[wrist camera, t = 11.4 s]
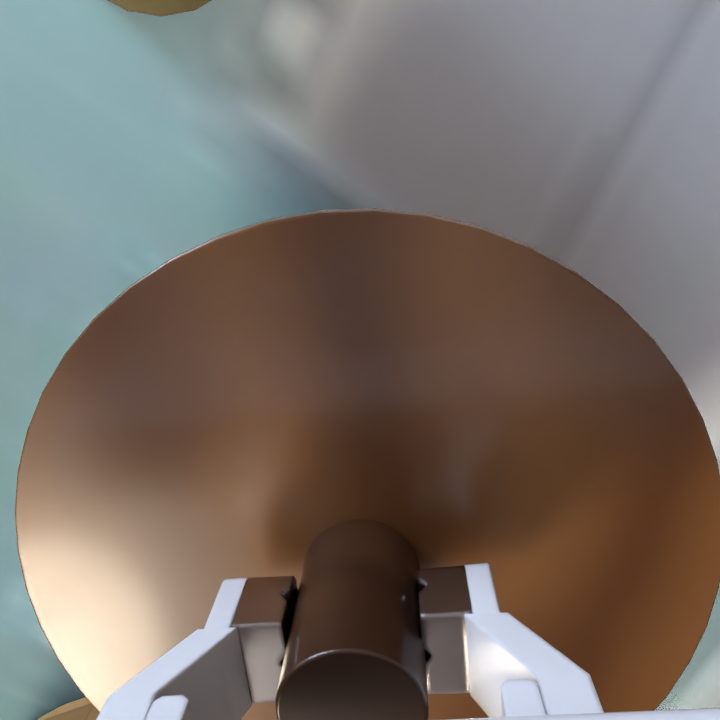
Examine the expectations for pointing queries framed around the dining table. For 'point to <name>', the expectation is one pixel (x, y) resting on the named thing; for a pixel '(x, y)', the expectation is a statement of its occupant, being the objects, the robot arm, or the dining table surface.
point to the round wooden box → (73, 711)
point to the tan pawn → (160, 6)
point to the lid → (369, 464)
